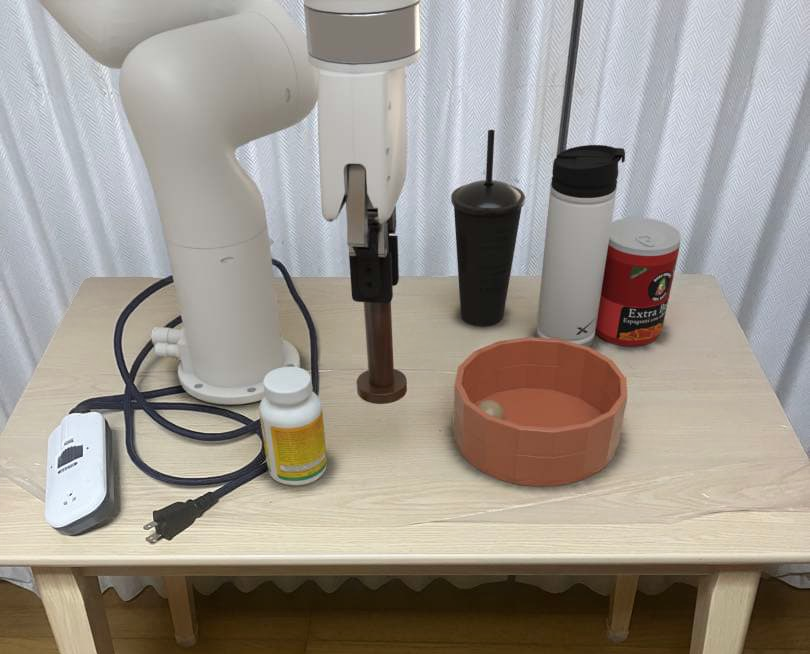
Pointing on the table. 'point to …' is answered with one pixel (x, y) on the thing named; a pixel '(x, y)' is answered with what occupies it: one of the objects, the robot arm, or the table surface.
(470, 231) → the drinking cup
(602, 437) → the bowl
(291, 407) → the supplement bottle
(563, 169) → the travel mug
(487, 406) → the bead
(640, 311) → the canned food
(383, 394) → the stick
